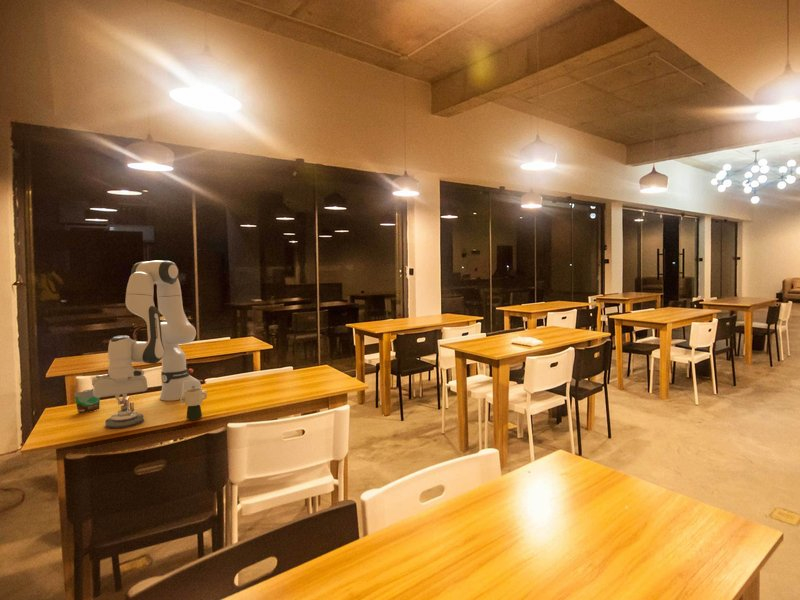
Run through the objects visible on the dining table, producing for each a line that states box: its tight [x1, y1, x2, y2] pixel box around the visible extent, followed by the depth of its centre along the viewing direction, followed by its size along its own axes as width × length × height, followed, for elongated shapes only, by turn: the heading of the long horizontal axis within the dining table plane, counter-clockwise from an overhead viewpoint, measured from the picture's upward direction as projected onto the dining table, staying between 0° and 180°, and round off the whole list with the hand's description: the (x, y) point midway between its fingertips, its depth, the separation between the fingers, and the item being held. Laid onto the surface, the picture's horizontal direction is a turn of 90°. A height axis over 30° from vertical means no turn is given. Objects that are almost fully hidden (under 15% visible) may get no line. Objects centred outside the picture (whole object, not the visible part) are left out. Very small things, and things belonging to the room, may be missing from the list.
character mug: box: [179, 387, 208, 421], centre depth 193 cm, size 11×7×13 cm, turn 128°
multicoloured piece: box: [110, 396, 139, 422], centre depth 191 cm, size 14×10×7 cm
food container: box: [73, 388, 101, 414], centre depth 207 cm, size 12×6×10 cm, turn 168°
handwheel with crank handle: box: [104, 402, 145, 430], centre depth 189 cm, size 14×14×8 cm
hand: (121, 404), depth 194 cm, fingers closed
